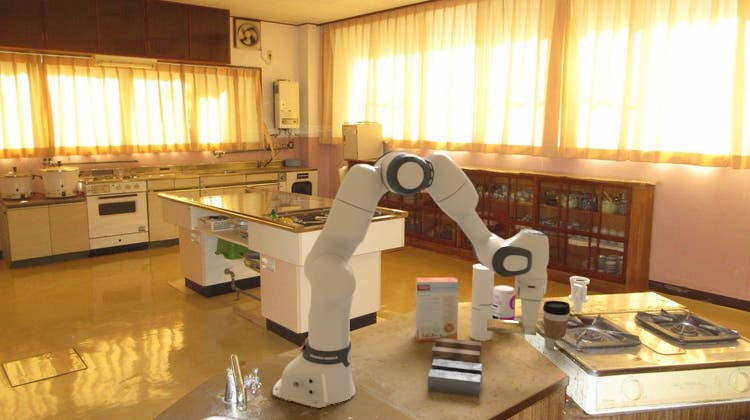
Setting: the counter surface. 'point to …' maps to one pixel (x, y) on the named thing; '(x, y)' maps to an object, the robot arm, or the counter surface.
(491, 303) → the cylindrical container
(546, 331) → the coffee cup
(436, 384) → the iron V-block
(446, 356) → the walnut bearing block
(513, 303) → the supplement can
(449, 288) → the cracker box
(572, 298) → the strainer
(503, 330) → the brass axle
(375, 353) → the counter surface
